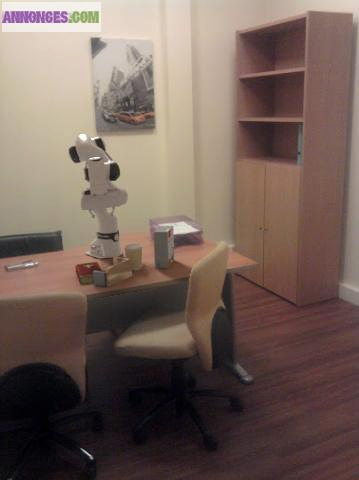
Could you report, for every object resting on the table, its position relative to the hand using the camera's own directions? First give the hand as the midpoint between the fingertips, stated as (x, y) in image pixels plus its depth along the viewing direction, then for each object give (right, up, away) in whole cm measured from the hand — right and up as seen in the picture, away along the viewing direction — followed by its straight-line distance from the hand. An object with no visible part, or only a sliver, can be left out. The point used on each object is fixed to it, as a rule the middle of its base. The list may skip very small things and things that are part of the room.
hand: (102, 216), depth 235 cm
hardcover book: (-7, -31, +4) cm, 32 cm away
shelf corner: (+6, -31, -4) cm, 32 cm away
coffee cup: (+15, -27, +13) cm, 33 cm away
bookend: (+1, -34, -12) cm, 36 cm away
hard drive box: (+31, -25, +17) cm, 43 cm away
